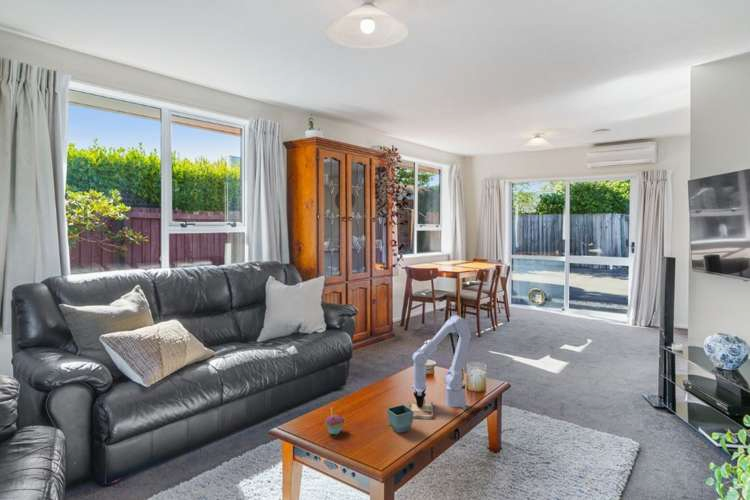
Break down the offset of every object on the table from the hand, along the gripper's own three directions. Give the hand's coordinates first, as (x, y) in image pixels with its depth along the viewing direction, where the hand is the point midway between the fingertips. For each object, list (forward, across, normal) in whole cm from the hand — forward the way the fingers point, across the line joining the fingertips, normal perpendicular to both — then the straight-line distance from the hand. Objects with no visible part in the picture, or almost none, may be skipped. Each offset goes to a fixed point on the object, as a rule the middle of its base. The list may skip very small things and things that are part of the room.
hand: (420, 405), depth 218 cm
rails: (+2, +5, 0) cm, 5 cm away
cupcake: (+2, +28, -36) cm, 45 cm away
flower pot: (+2, +24, -8) cm, 25 cm away
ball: (+1, 0, 0) cm, 1 cm away
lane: (+2, +5, 0) cm, 5 cm away
